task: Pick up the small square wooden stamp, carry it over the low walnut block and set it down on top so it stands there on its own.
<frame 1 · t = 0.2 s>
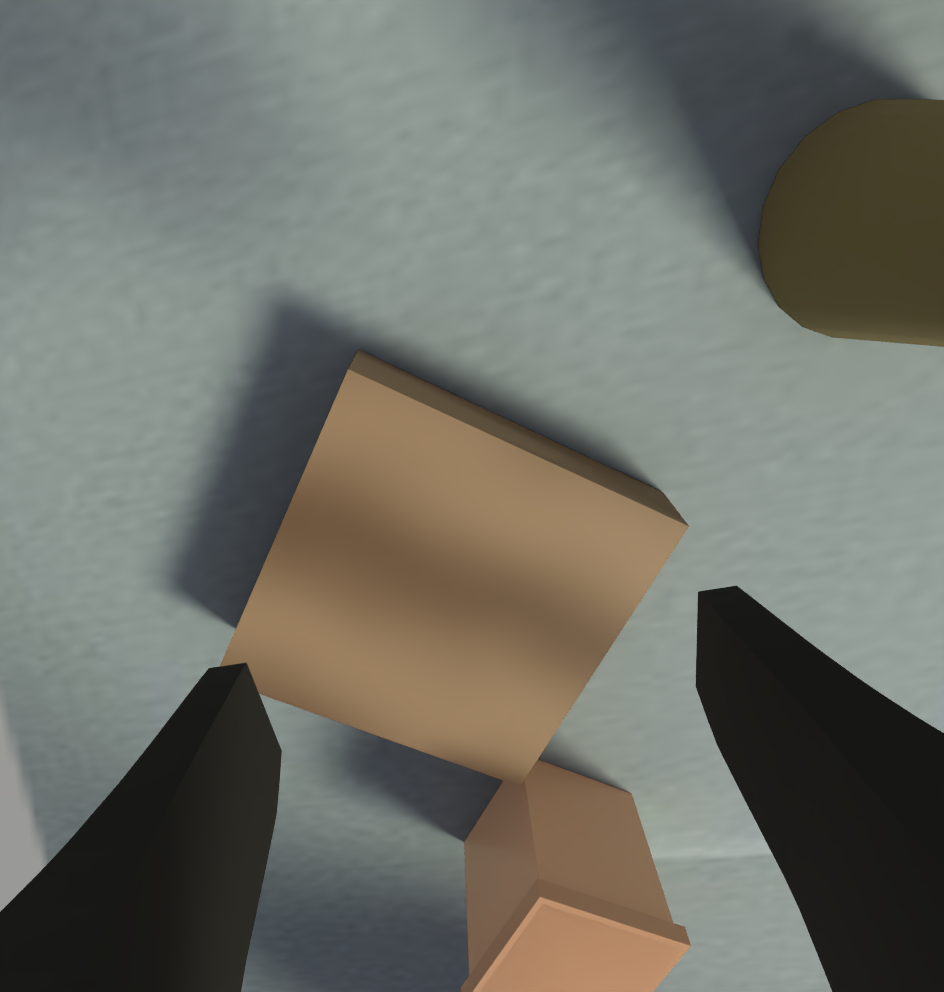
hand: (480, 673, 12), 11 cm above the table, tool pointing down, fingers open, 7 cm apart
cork: (866, 224, 20), on the table
walnut block: (444, 563, 23), on the table
square wooden stamp: (546, 817, 27), on the table
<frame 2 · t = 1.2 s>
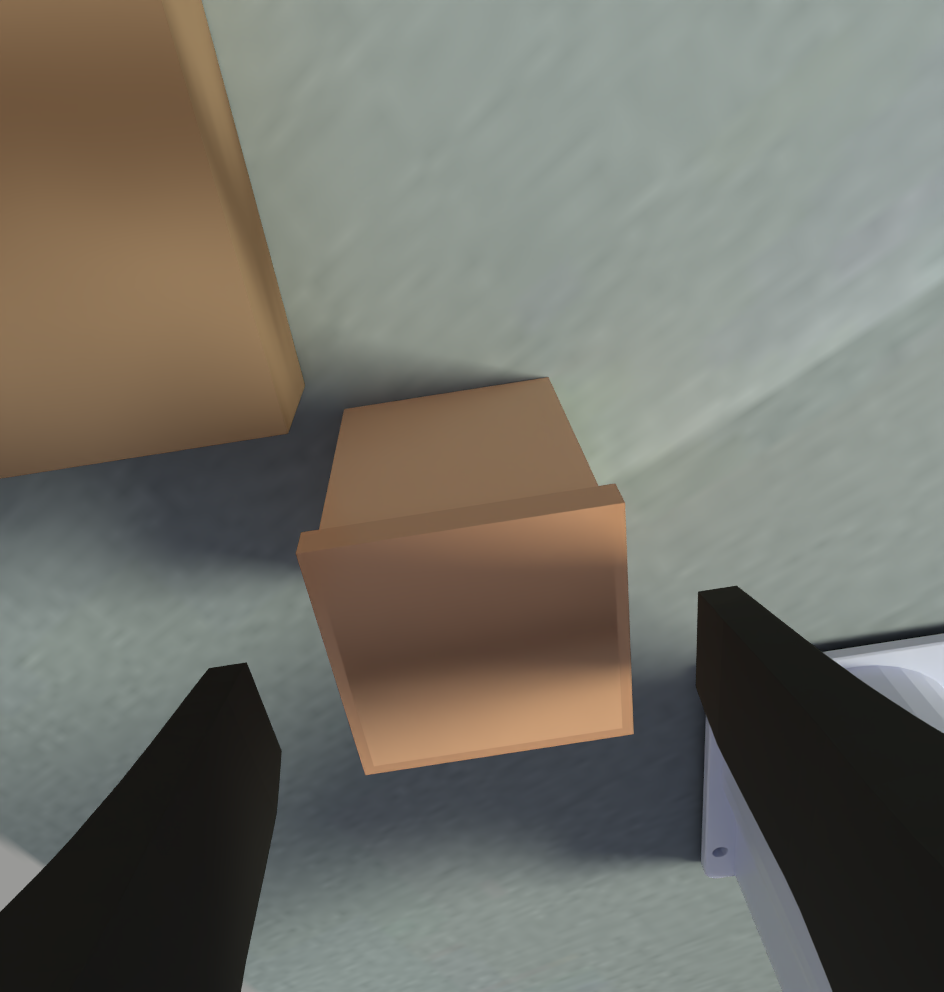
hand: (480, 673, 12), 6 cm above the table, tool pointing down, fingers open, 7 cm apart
square wooden stamp: (460, 482, 17), on the table
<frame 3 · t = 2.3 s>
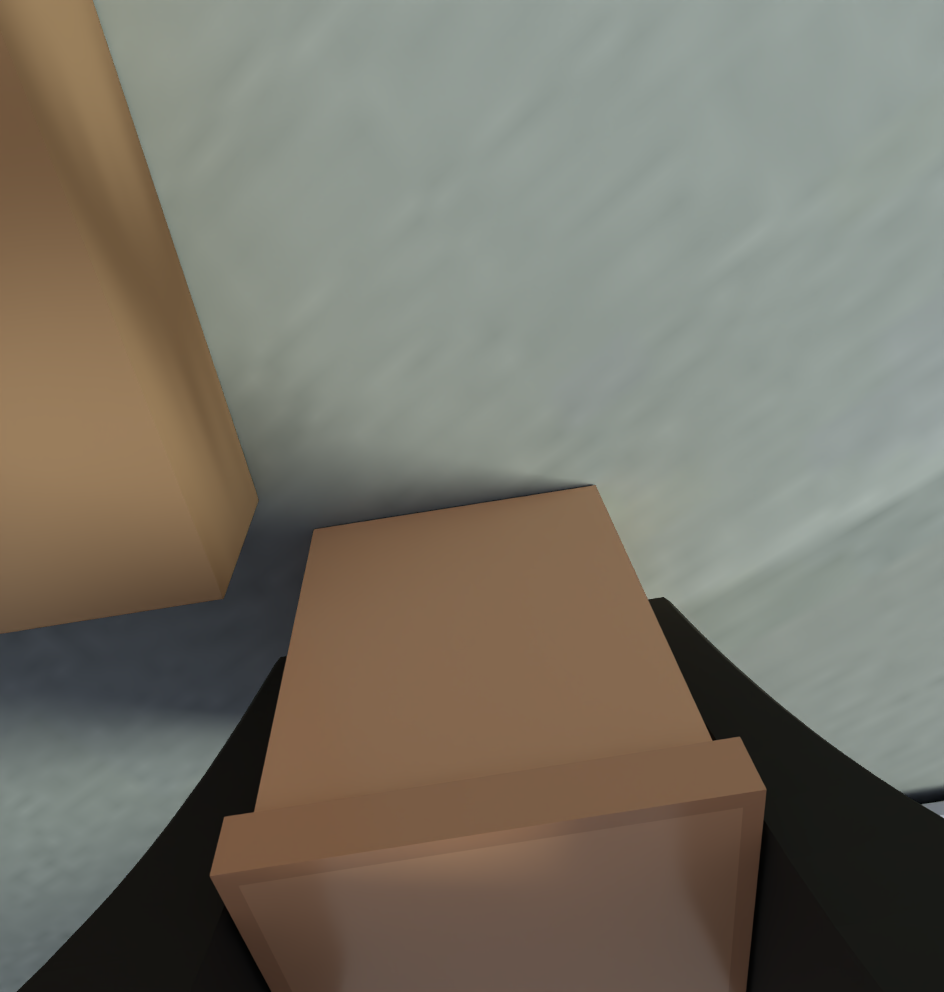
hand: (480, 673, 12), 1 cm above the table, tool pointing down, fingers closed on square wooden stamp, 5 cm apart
square wooden stamp: (473, 617, 13), on the table, touching gripper
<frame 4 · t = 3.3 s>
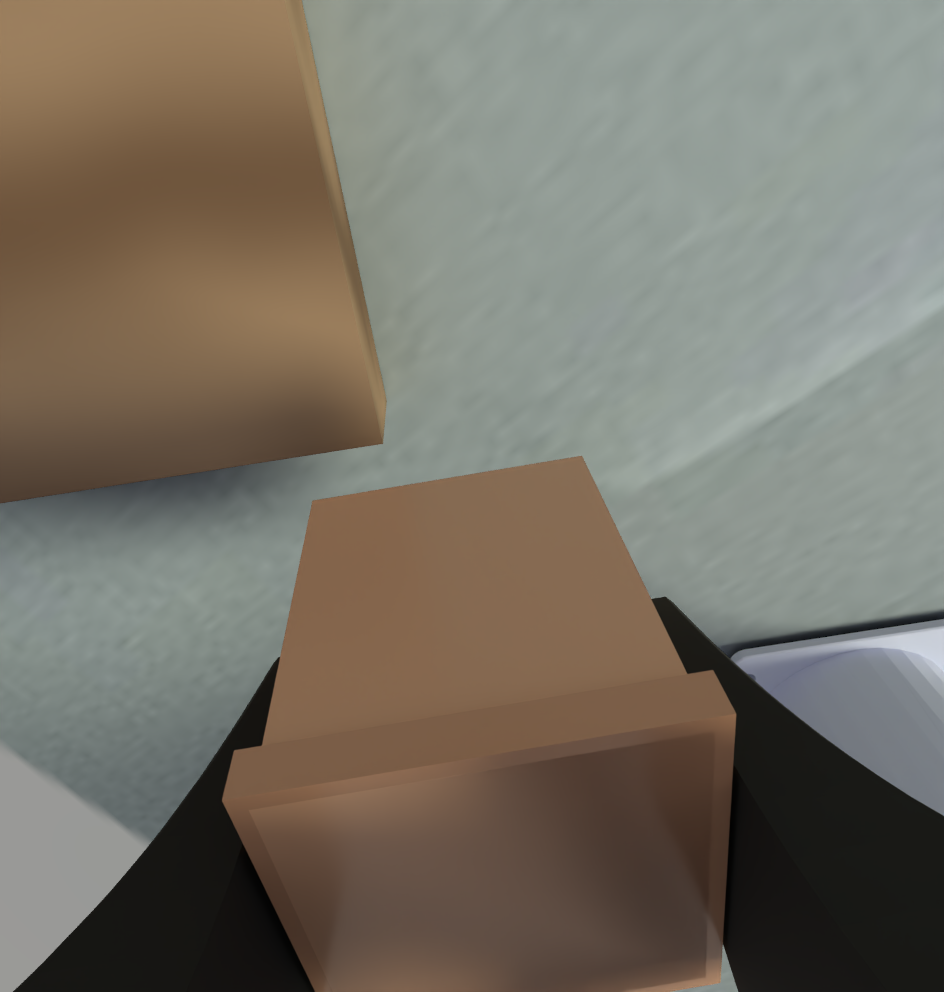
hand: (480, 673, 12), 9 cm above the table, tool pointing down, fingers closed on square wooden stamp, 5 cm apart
walnut block: (115, 225, 16), on the table
square wooden stamp: (466, 586, 13), point 6 cm above the table, touching gripper
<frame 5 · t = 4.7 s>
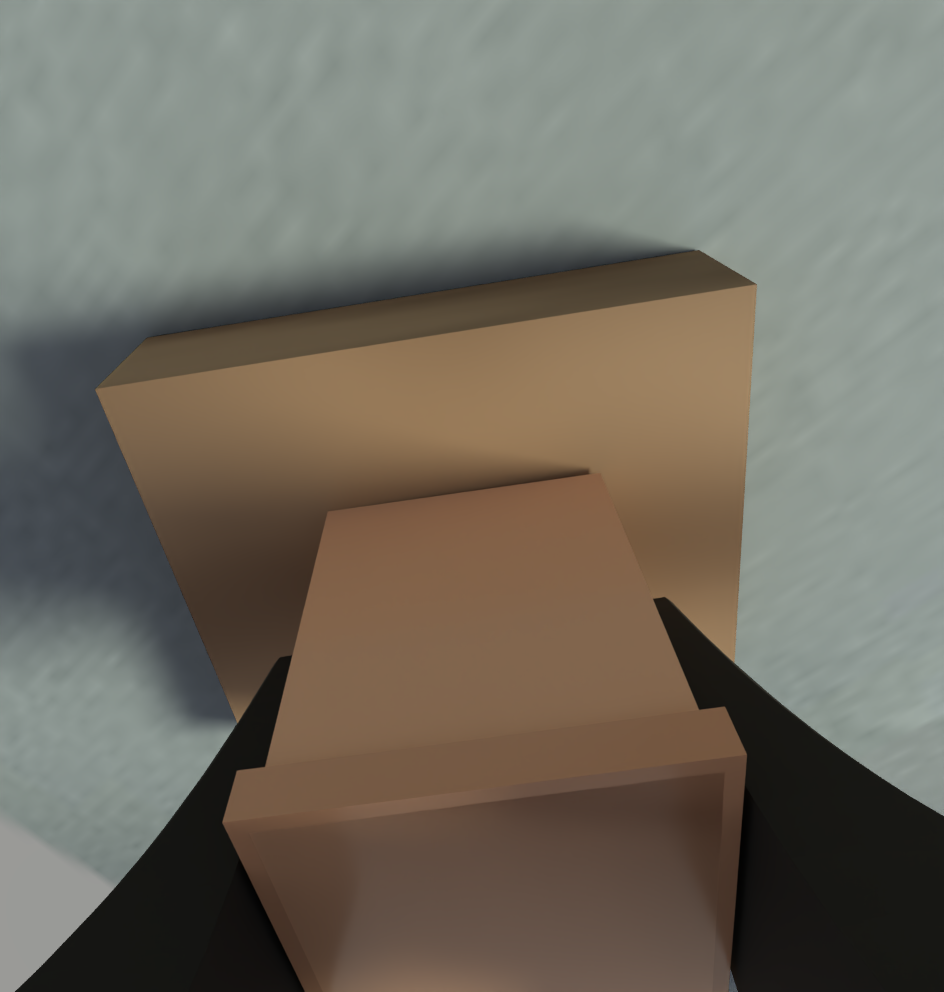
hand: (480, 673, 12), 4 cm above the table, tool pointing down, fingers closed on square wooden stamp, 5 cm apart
walnut block: (462, 526, 16), on the table
square wooden stamp: (481, 600, 13), point 3 cm above the table, touching gripper, walnut block
when the fingers open (4 cm above the table, at t = 5.2 s): square wooden stamp stays where it is, resting on walnut block.
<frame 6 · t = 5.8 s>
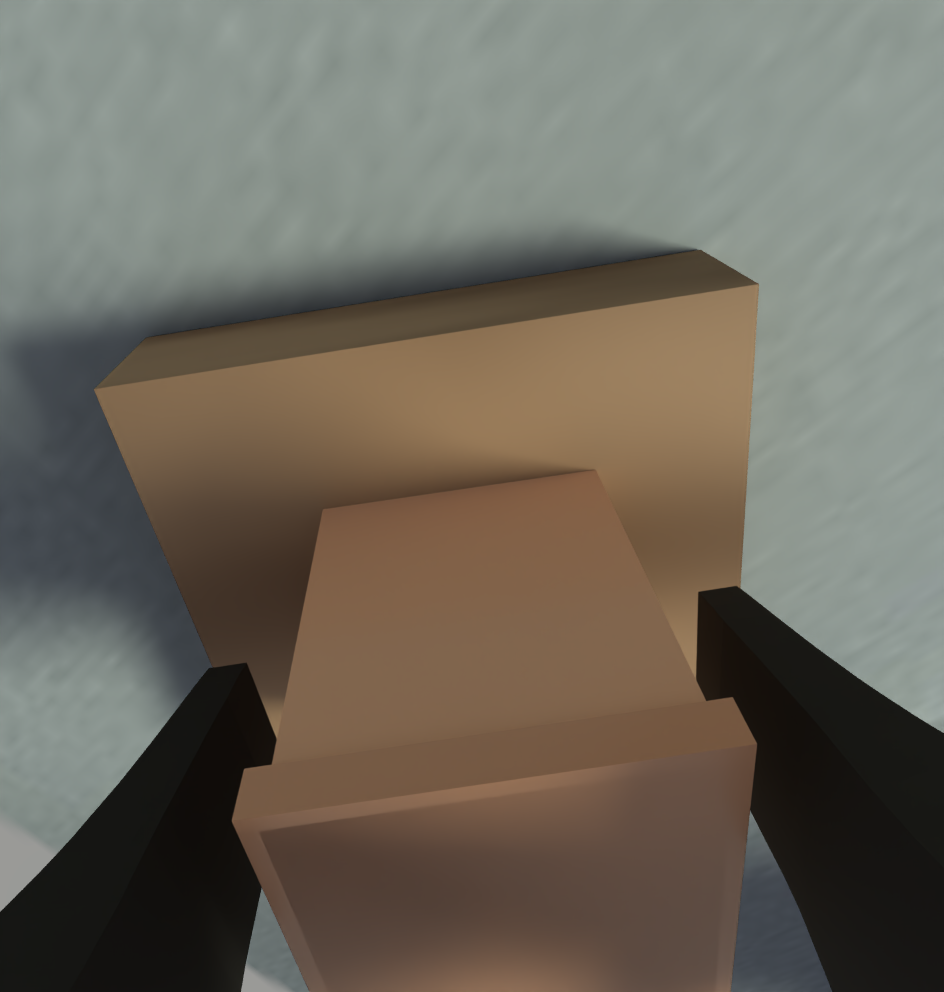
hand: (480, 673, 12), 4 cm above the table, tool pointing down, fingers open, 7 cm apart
walnut block: (462, 527, 15), on the table
square wooden stamp: (475, 597, 13), point 2 cm above the table, touching walnut block
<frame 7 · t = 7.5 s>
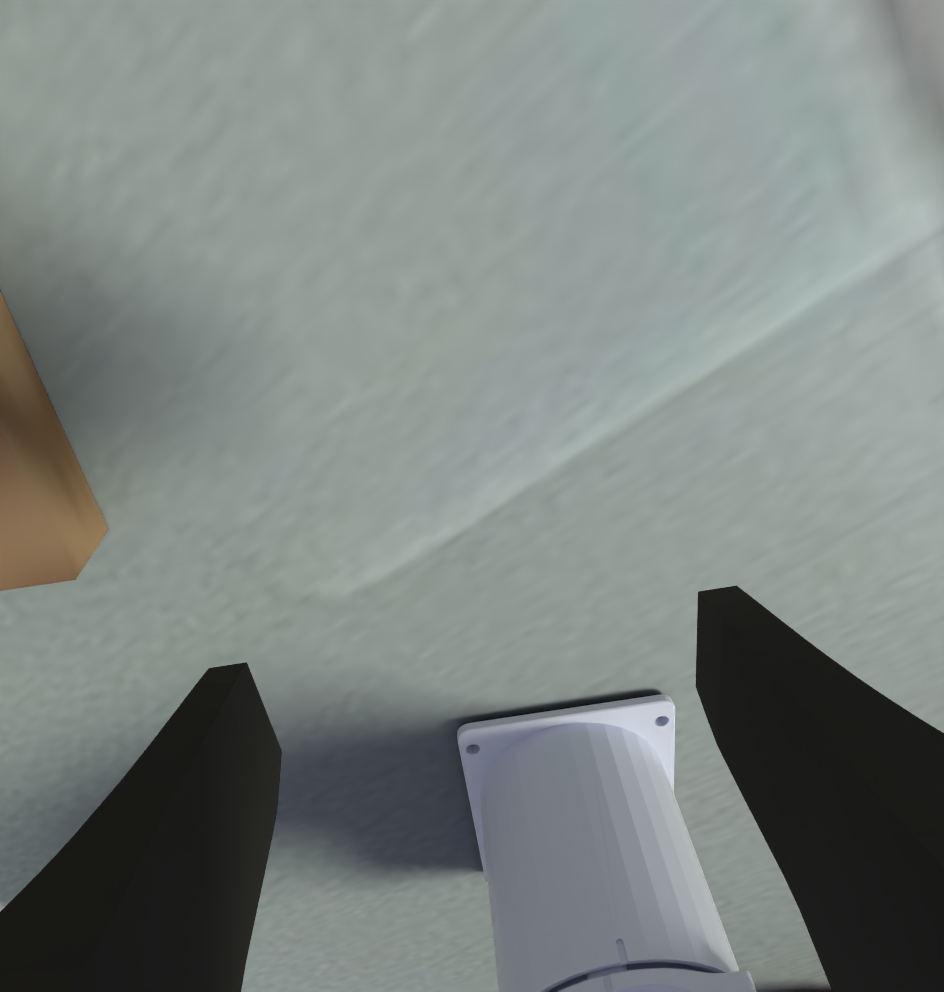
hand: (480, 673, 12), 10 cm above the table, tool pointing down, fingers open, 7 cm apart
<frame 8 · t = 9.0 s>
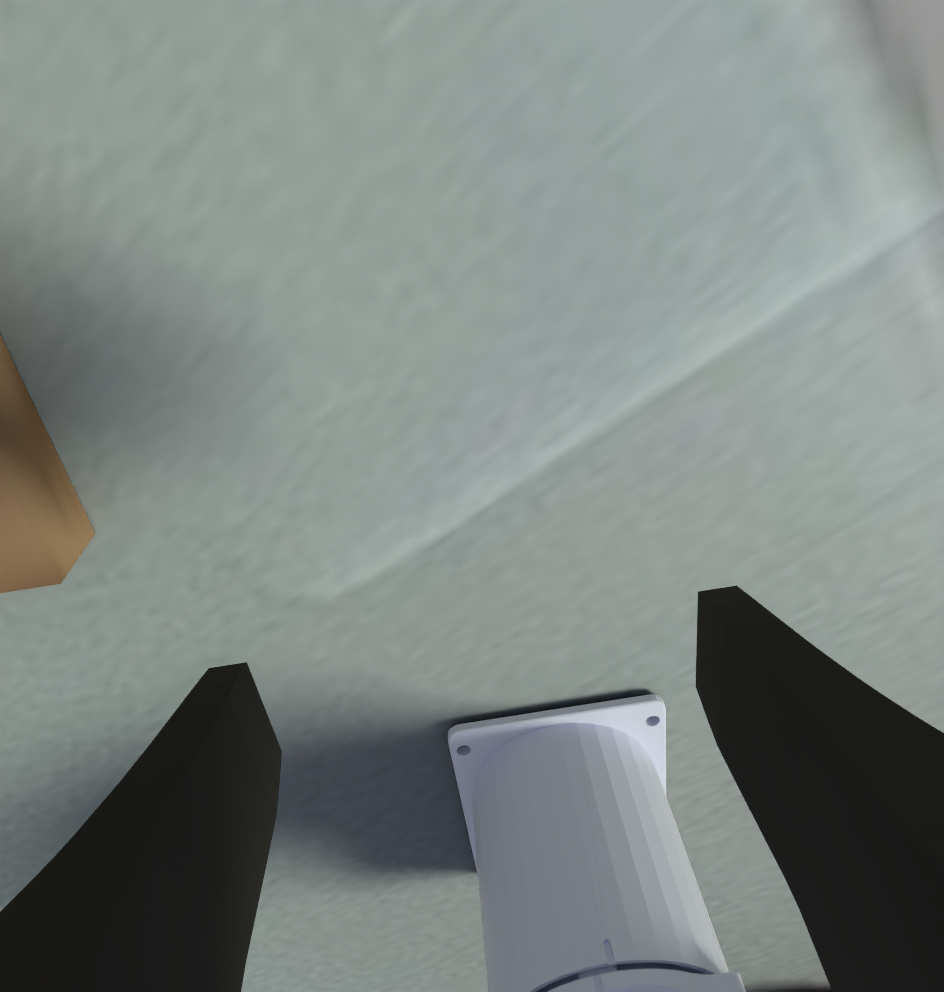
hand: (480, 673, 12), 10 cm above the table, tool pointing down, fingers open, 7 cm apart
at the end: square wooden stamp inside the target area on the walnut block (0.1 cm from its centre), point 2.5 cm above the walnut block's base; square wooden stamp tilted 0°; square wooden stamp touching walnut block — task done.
